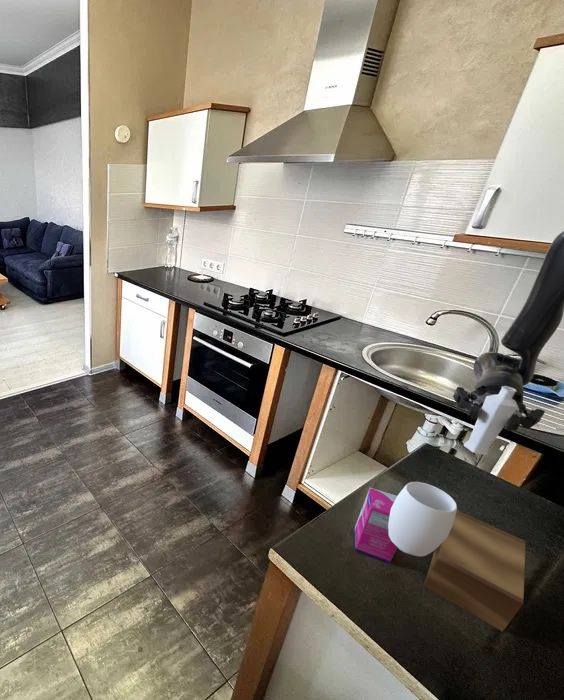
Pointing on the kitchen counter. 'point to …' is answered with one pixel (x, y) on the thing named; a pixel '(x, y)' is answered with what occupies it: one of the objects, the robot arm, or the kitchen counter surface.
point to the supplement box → (375, 526)
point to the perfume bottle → (492, 420)
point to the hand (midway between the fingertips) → (492, 421)
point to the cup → (421, 518)
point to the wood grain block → (480, 570)
